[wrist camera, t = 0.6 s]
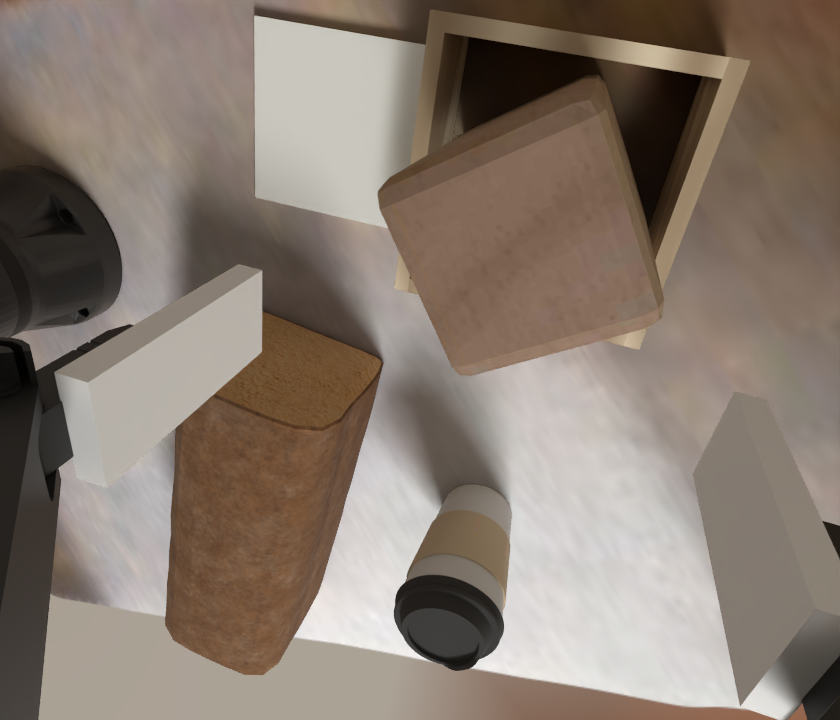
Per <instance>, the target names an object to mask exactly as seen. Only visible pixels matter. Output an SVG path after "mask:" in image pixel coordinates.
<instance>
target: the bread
mask: <svg viewBox="0 0 840 720" xmlns="http://www.w3.org/2000/svg"><path fill="white" fill-rule="evenodd" d="M382 367H383V362H382V361H380V360H379V359H378V358H376V357H375V356H373V355H370V354H368V353H366V352H363V351H361V350H359V349H356V348H354V347H351V346H349V345H346V344H344V343H341V342H339V341H336V340H334V339H331V338H328V337H326V336H323V335H321V334H318V333H315V332H313V331H311V330H308V329H306V328H303V327H301V326H298V325H296V324H294V323H291V322H289V321H286V320H284V319H281V318H279V317H276V316H273V315H271V314H268V313H265V312H263V311H262V352H261V353H260V354H259V355H258V356H257V357H256V358H254V359H253V360H252V361H251V362H250V363H249V364H248V365H247V366H245V367H244V368H243V369H242V370H241V371H240V372H239V373H237V374H236V375H235V376H234V377H233V378H232V379H231V380H230V381H228V382H227V383H226V384H225V385H224V386H223V387H222V388H220V389H219V390H218V391H217V392H216V393H215V394H214V395H212V396H211V397H210V398H209V399H208V400H207V401H206V402H205V403H203V404H202V405H201V406H200V407H199V408H198V409H197V410H195V411H194V412H193V413H192V414H191V415H190V416H189V417H188V418H186V419H185V420H184V421H183V422H182V423H181V424H180V425H178V426H177V427H176V435H175V473H174V484H173V494H172V506H171V540H170V550H169V572H168V581H167V605H166V617H165V625H166V627H167V629H168V631H169V633H170V634H171V636H172V638H173V640H174V641H176V642H178V643H179V644H181V645H183V646H184V647H186V648H187V649H189V650H191V651H193V652H195V653H197V654H199V655H201V656H203V657H205V658H207V659H209V660H212V661H214V662H216V663H218V664H220V665H223V666H225V667H227V668H230V669H232V670H235V671H237V672H239V673H242V674H245V675H264V674H265V673H266V672H267V671H269V670H270V669H271V668H273V667H274V666H275V665H276V664H277V663H279V661H280V659H281V658H282V656H283V654H284V652H285V651H286V649H287V647H288V645H289V644H290V642H291V640H292V639H293V637H294V635H295V634H296V632H297V630H298V629H299V627H300V625H301V624H302V622H303V620H304V618H305V616H306V614H307V613H308V611H309V609H310V607H311V605H312V603H313V601H314V599H315V598H316V596H317V594H318V591H319V589H320V586H321V583H322V580H323V577H324V573H325V570H326V566H327V563H328V560H329V556H330V553H331V550H332V546H333V543H334V540H335V536H336V533H337V530H338V527H339V523H340V520H341V516H342V513H343V509H344V504H345V500H346V497H347V494H348V491H349V488H350V485H351V482H352V478H353V474H354V470H355V466H356V463H357V459H358V455H359V452H360V448H361V445H362V441H363V438H364V435H365V432H366V428H367V425H368V421H369V418H370V414H371V411H372V407H373V403H374V399H375V395H376V391H377V386H378V382H379V379H380V375H381V371H382Z"/></svg>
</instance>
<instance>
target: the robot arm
mask: <svg viewBox="0 0 840 720" xmlns="http://www.w3.org/2000/svg"><path fill="white" fill-rule="evenodd" d="M121 281H122V267H121V259H120V255H119V251H118V247H117V244H116V242H115V239H114V237H113V234H112V232H111V230H110V228H109V226H108V224H107V223H106V221H105V219H104V218H103V216H102V215H101V213H100V212H99V210H98V209H97V208H96V206H95V205H94V204H93V203H92V202H91V201H90V199H89V198H88V197H87V196H86V195H85V194H84V193H83V192H82V191H81V190H79V189H78V188H77V187H76V186H75V185H73V184H72V183H71V182H69V181H68V180H66V179H65V178H63V177H62V176H60V175H58V174H56V173H54V172H52V171H49V170H47V169H44V168H40V167H35V166H19V167H14V168H9V169H4V170H0V720H38V716H39V706H40V696H41V685H42V675H43V664H44V654H45V653H44V652H45V643H46V632H47V622H48V612H49V601H50V591H51V580H52V570H53V559H54V549H55V538H56V528H57V518H58V507H59V497H60V486H61V478H60V473H59V469H58V468H59V467H60V466H62V465H63V464H64V463H65V462H67V461H68V460H69V459H71V458H73V462H74V467H75V472H76V476H77V478H78V479H81V480H84V481H87V482H90V483H93V484H95V485H98V486H101V487H104V488H108V487H109V486H110V485H111V484H113V483H114V482H115V481H116V480H117V479H118V478H119V477H121V476H122V475H123V474H124V473H125V472H126V471H127V470H128V469H130V468H131V467H132V466H133V465H134V464H135V463H136V462H138V461H139V460H140V459H141V458H142V457H143V456H144V455H145V454H147V453H148V452H149V451H150V450H151V449H152V448H153V447H155V446H156V445H157V444H158V443H159V442H160V441H161V440H163V439H164V438H165V437H166V436H167V435H168V434H169V433H170V432H172V431H173V430H174V429H175V428H176V427H177V426H178V425H180V424H181V423H182V422H183V421H184V420H185V419H186V418H188V417H189V416H190V415H191V414H192V413H193V412H194V411H195V410H197V409H198V408H199V407H200V406H201V405H202V404H203V403H205V402H206V401H207V400H208V399H209V398H210V397H211V396H212V395H214V394H215V393H216V392H217V391H218V390H219V389H220V388H222V387H223V386H224V385H225V384H226V383H227V382H228V381H230V380H231V379H232V378H233V377H234V376H235V375H236V374H237V373H239V372H240V371H241V370H242V369H243V368H244V367H245V366H247V365H248V364H249V363H250V362H251V361H252V360H253V359H254V358H256V357H257V356H258V355H259V354H260V353H261V352H262V270H259V269H256V268H252V267H248V266H244V265H240V264H238V265H236V266H235V267H233V268H231V269H229V270H228V271H226V272H224V273H223V274H221V275H219V276H217V277H216V278H214V279H212V280H211V281H209V282H207V283H206V284H204V285H202V286H200V287H199V288H197V289H195V290H194V291H192V292H190V293H188V294H187V295H185V296H183V297H182V298H180V299H178V300H177V301H175V302H173V303H171V304H170V305H168V306H166V307H165V308H163V309H161V310H160V311H158V312H156V313H154V314H153V315H151V316H149V317H148V318H146V319H144V320H142V321H141V322H139V323H137V324H136V325H130V324H129V325H126V326H122V327H119V328H115V329H112V330H108V331H106V332H105V333H103V334H101V335H99V336H97V337H96V338H94V339H92V340H91V342H90V343H88V342H87V343H85V344H83V345H82V346H80V347H78V348H77V350H76V351H75V350H73V351H71V352H69V353H67V354H66V355H64V356H62V357H60V358H59V359H57V360H55V361H53V362H52V363H50V364H48V365H46V366H44V367H43V368H41V369H39V370H37V371H35V366H34V362H33V358H32V353H31V349H30V346H29V344H27V343H26V342H24V341H23V340H19V339H15V338H9V337H12V336H14V335H16V334H18V333H20V332H22V331H29V330H36V329H44V328H52V327H60V326H68V325H75V324H79V323H82V322H85V321H88V320H89V319H91V318H93V317H95V316H97V315H99V314H101V313H103V312H104V311H106V310H107V309H108V308H110V307H111V305H112V304H113V303H114V301H115V300H116V298H117V296H118V294H119V291H120V287H121ZM693 476H694V481H695V486H696V491H697V496H698V501H699V506H700V511H701V516H702V521H703V526H704V531H705V536H706V540H707V545H708V550H709V555H710V560H711V565H712V570H713V575H714V580H715V585H716V590H717V595H718V600H719V604H720V609H721V614H722V619H723V624H724V629H725V634H726V639H727V644H728V649H729V654H730V659H731V664H732V668H733V673H734V678H735V683H736V688H737V693H738V698H739V703H740V707H743V708H746V709H749V710H752V711H755V712H758V713H761V714H764V715H766V716H770V717H772V718H775V719H778V720H788V719H789V718H790V717H791V715H792V714H793V713H794V712H795V711H796V710H797V709H798V707H799V706H800V705H801V704H802V703H803V706H804V710H805V713H806V716H807V720H840V526H838V525H835V524H831V523H828V522H824V521H822V519H821V517H820V515H819V513H818V511H817V509H816V506H815V504H814V502H813V500H812V498H811V495H810V493H809V491H808V489H807V487H806V484H805V482H804V480H803V478H802V476H801V473H800V471H799V469H798V467H797V465H796V462H795V460H794V458H793V456H792V454H791V452H790V449H789V447H788V445H787V443H786V441H785V438H784V436H783V434H782V432H781V430H780V427H779V425H778V423H777V421H776V419H775V416H774V414H773V412H772V410H771V408H770V406H769V403H768V401H767V400H766V399H762V398H758V397H754V396H751V395H747V394H743V393H739V392H734V394H733V396H732V398H731V400H730V402H729V404H728V406H727V408H726V410H725V412H724V414H723V416H722V418H721V420H720V422H719V424H718V425H717V427H716V429H715V431H714V433H713V435H712V437H711V439H710V441H709V443H708V445H707V447H706V449H705V451H704V453H703V455H702V457H701V459H700V461H699V463H698V465H697V467H696V469H695V471H694V473H693Z"/></svg>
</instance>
